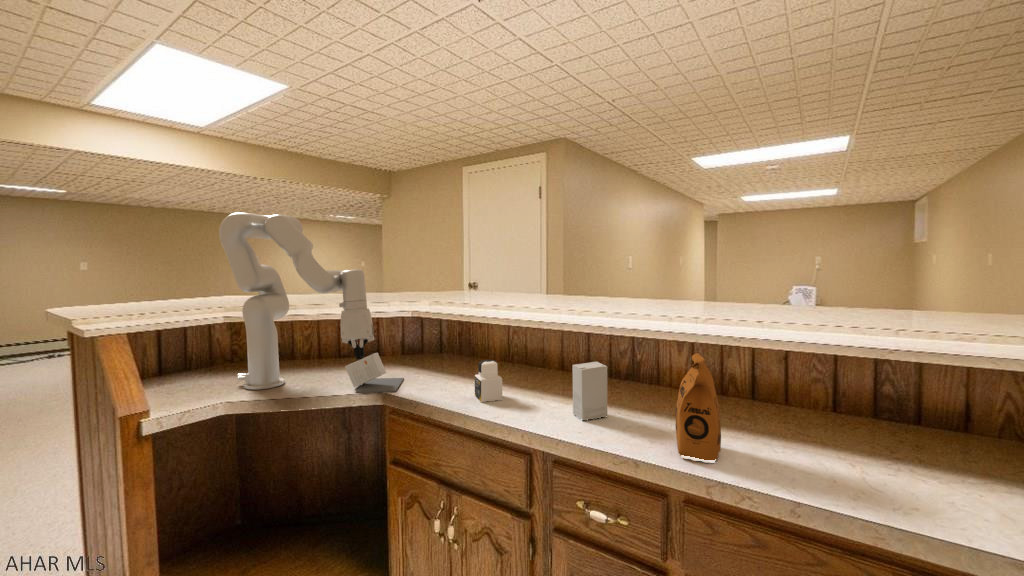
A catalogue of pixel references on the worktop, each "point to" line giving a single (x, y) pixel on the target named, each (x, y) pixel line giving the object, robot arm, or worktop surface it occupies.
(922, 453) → the worktop surface
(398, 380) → the mat
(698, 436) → the coffee package
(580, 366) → the skincare box
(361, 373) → the small box
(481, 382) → the medicine bottle
